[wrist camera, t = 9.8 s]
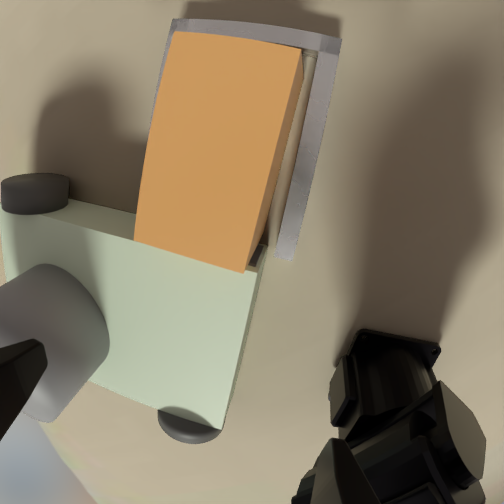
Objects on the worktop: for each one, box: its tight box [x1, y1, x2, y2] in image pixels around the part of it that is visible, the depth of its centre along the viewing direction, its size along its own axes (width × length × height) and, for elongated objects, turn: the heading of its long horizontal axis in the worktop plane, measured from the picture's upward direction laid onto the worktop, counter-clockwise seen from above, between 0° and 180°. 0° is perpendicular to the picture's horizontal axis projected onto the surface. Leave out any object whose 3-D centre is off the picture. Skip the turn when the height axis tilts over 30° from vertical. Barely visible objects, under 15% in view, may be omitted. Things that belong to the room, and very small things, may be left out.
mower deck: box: [0, 173, 268, 444], centre depth 17 cm, size 18×15×10 cm
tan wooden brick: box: [134, 31, 304, 274], centre depth 14 cm, size 5×9×6 cm, turn 167°
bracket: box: [147, 19, 342, 261], centre depth 16 cm, size 9×12×2 cm
